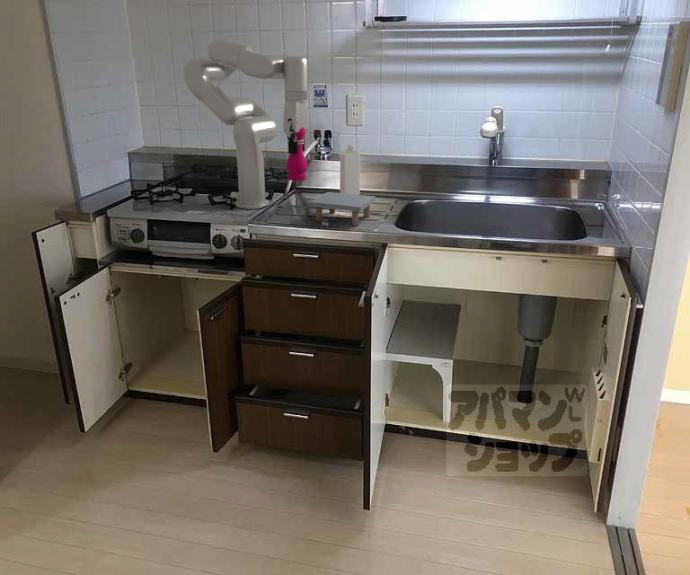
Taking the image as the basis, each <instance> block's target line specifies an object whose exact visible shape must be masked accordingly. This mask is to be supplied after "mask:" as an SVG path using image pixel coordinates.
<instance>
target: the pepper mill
mask: <svg viewBox="0 0 690 575" xmlns="http://www.w3.org/2000/svg"><path fill="white" fill-rule="evenodd" d="M291 132H294V130H291ZM293 136H294V134H293ZM304 136H305V137H306V132H305V129H304V127H302V128H301V129H300V131H299V132H297V140H296V142H298V153H297V154H291V153H289V156H288V158H287V161H286V164H285V165H286V167H285V168H286V170H287V172H289V173H287V180H289V181H292V182H293V181H294V182H301V181H305V180H307V173H305V172H306V171H307V170H308V163H307V160H306V157H305V154H304V151H303V144H304V139H303V137H304Z"/></svg>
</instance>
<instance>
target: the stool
mask: <svg viewBox="0 0 690 575" xmlns="http://www.w3.org/2000/svg"><path fill="white" fill-rule="evenodd" d="M376 199H377V197H376V196H373V195H365V194H364V195H362V194H360V195H354V194H344V193H340V192H333V191H327V192H325V193H323V194H321V195H320V196H318V197H316V198H315V199H312V200H311V201H309V207H314V208H315V222H316V221H317V222H316V223H322V222H323V208H324V209H328V210H329V211H328V212H329V214H333V215H334V214H336V210H339V211H340V210H341V211H350V212H352V214H351V215H352V216H351V220H352V221H351V226H352V225H353V226H352V227H358V226H359V212H360V213H361V212H362V211H363V218H366V219H367V218H370V211H371V210H370V209H371V208H370V207H371V205H372V204H374V203H375V202H376V201H377V200H376ZM321 221H322V222H321Z"/></svg>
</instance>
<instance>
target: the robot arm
mask: <svg viewBox="0 0 690 575" xmlns="http://www.w3.org/2000/svg"><path fill="white" fill-rule="evenodd" d="M207 54H208V55H207V56H208V57H207V56H206V57H194V58H191V59H189V60H187V61H186V62H185V64H184V65H183V70H182V75H183V80H184V83H185V85H186V87H187V89H188V90H189V92H190V93H191V94H192V95H193V96H194V97H195V98H197V99H198V100H199V101H200V102H201V103H202V104H203V105H204V106H206V108H208V109H209V111H210V112H211V113H213V115H215V117H217V119H218V120H220V121H221V122H222V123H223V124H224V125H226V126H231V127H232V136H233V141H234V146H235V150H236V151H235V152H236V166H237V176H238V177H237V178H238V182H237V183H238V192H236V191H232V192H231V193H230V198H231V199H236V201H235V203H234V204H235V207H237V208H240V209H247V210H249V209H250V210H253V209H254V210H255V209H263V207H264V208H266V207H265V206H267V205H268V204H269V203H270V200H268V199H266V185H265V182H266V181H265V163H264V162H265V161H264V153H263V151H262V149H261V147H260V144H264V143H268V142H271V141H273V140H274V139H276V137H277V134H278V124H277V123H276V121H275V119H274V118H273V117H272V116H271V115H270V114H269V113H268V112H267V111H266V110H265V109H264V108H263V107H262V106H261V105H259V104H258V103H257V102H256V101H255V100H254V99H252V98H250V97H245V96H243V97H240V96H239V97H233V96H231V95H229V94H228V93H227V92H226V91H225V90H224V89H223V88H221V87H220V86H219V85H216V84H215V83H216V82H223V81H225V80H227V79H228V78H229V77H231V75H232V74H234V72H236V71H240V72H242V74H244V75H246V76H249V77H252V78H256V79H258V80H264V81H265V80H267V81H268V80H269V81H270V80H284V81H283V82H284V85H283V86H284V90H283V91H284V103H283V104H284V106H283V119H282V122H283V123H282V127H283V128H282V130H283V132H285V135H286V137H287V138H286V139H287V142H288V144H287V146H288V147H287V149H288V154H290V153H291V154H297V153H298V142H296V140H297V132H299V131H300V129H301V128H302V127H304V129H305V133H306V131H307V129H308V106H307V105H308V104H307V102H308V59H307V58H306V57H305V56H298V55H297V56H296V55H295V56H294V55H292V56H289V55H285V54H261V53H256V52H254V50H253V48H252V47H251V46H249V45H248V44H245V43H244V42H243V41H241V40H239V39H236V38H217V39H214V40H212V41H211V42H210V44H208V47H207ZM291 130H294V132H291ZM293 134H294V136H293ZM303 139H304V144H303V152H304V151H305V148H306V146H305V145H306V144H305V142H306V141H305V139H306V135H305V136H304V137H303ZM269 205H270V204H269ZM267 207H268V206H267Z"/></svg>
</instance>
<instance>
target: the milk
mask: <svg viewBox="0 0 690 575" xmlns="http://www.w3.org/2000/svg"><path fill="white" fill-rule="evenodd" d="M339 156H340V157H339V160H340V161H339V164H340V165H339V178H340V179H339V193H344V194H354V195H361V192H360V190H361V154H359V153H357V152H356V151H354V146H353V145H352V144H351V145H350V144H349V143H348V144H347V148H346V149H344V150H343V151H342V152H340V154H339Z"/></svg>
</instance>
